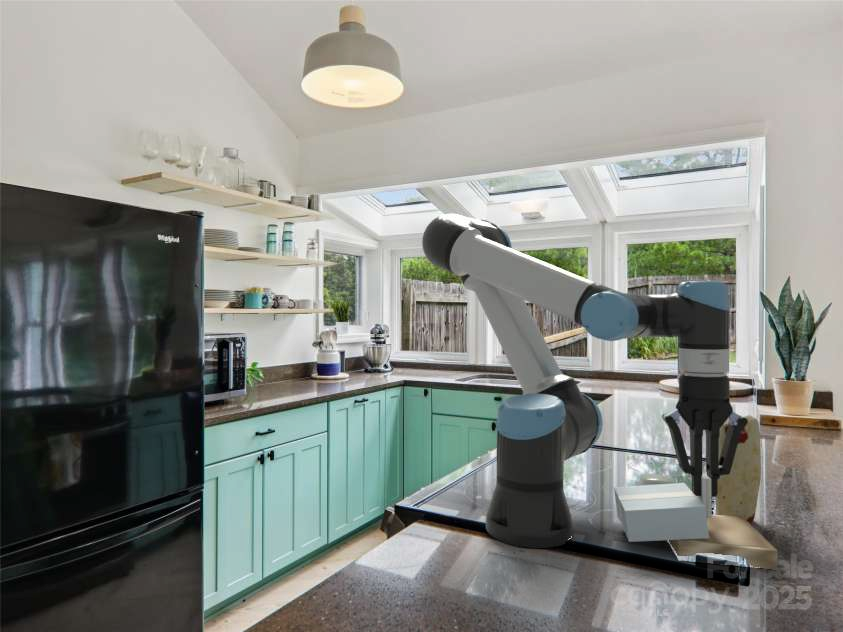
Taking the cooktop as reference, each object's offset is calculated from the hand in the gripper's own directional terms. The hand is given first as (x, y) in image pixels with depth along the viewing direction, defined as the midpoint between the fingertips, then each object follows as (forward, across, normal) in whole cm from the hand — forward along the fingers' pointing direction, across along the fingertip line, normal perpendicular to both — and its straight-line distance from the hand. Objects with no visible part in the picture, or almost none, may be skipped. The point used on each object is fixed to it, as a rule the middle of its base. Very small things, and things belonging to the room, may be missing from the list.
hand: (704, 515), depth 92 cm
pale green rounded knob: (+5, -5, +13) cm, 15 cm away
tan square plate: (+5, +1, 0) cm, 5 cm away
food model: (+6, +9, +13) cm, 17 cm away
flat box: (+2, -7, 0) cm, 7 cm away
